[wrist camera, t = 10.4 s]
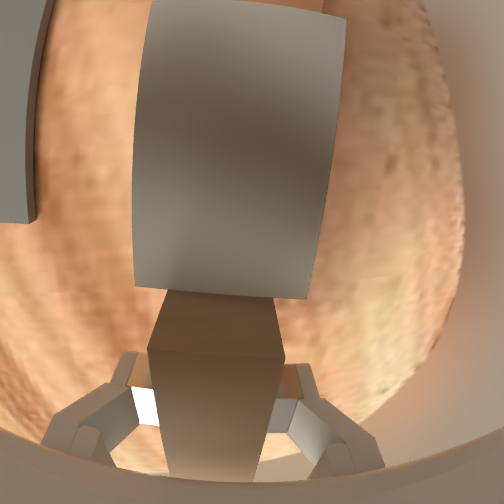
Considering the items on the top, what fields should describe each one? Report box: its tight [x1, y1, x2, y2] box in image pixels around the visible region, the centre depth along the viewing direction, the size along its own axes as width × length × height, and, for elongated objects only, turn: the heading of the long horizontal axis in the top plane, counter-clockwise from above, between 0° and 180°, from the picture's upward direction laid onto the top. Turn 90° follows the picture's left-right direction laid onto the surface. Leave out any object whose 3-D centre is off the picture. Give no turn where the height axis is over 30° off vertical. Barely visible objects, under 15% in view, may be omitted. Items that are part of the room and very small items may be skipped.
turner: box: [132, 0, 347, 482], centre depth 8 cm, size 16×5×3 cm, turn 174°
